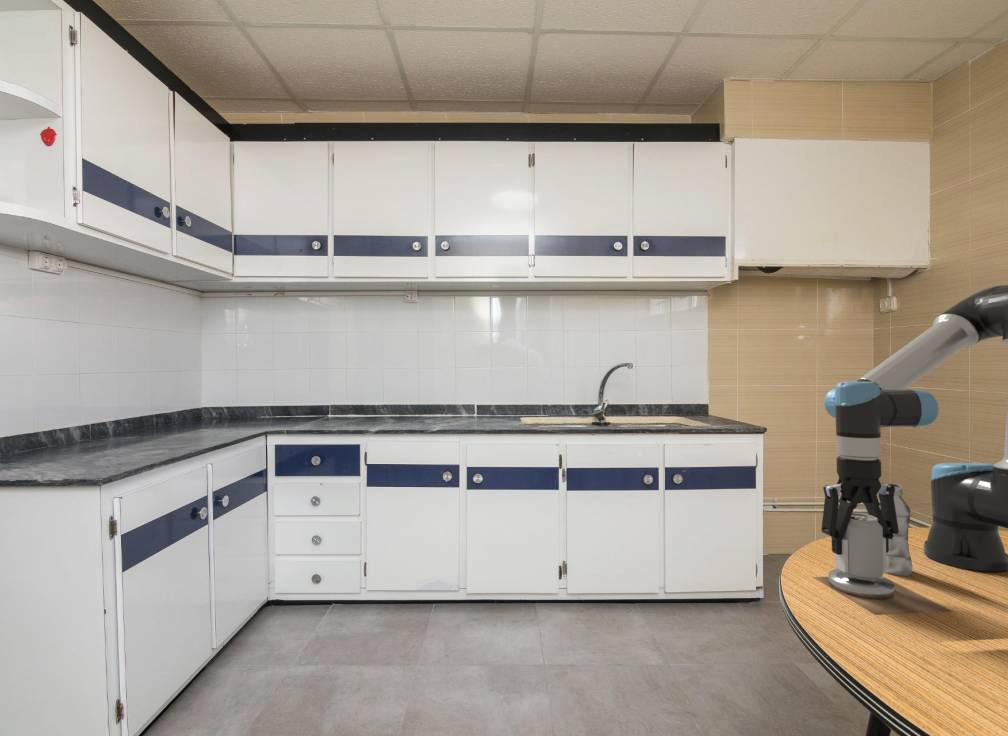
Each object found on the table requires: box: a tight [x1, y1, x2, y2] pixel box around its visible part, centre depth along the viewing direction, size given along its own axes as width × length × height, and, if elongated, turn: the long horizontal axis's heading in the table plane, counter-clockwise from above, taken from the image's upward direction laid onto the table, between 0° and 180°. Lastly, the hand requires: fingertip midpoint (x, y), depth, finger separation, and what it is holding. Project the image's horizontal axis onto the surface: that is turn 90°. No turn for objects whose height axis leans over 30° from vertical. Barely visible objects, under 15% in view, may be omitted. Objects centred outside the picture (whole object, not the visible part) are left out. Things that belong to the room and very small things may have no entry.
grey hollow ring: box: [828, 568, 894, 600], centre depth 104 cm, size 11×11×2 cm
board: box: [812, 576, 953, 616], centre depth 102 cm, size 15×17×1 cm
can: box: [844, 512, 884, 580], centre depth 105 cm, size 8×8×12 cm
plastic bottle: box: [878, 483, 914, 577], centre depth 113 cm, size 6×7×20 cm
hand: (860, 568), depth 104 cm, fingers closed on can, 7 cm apart
